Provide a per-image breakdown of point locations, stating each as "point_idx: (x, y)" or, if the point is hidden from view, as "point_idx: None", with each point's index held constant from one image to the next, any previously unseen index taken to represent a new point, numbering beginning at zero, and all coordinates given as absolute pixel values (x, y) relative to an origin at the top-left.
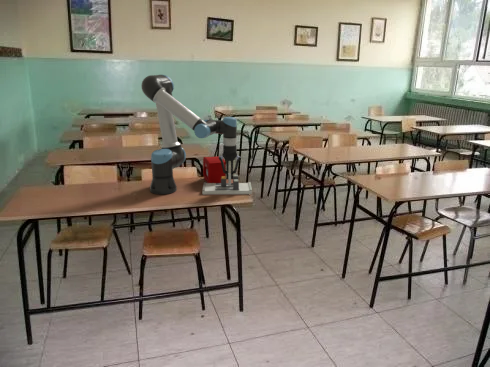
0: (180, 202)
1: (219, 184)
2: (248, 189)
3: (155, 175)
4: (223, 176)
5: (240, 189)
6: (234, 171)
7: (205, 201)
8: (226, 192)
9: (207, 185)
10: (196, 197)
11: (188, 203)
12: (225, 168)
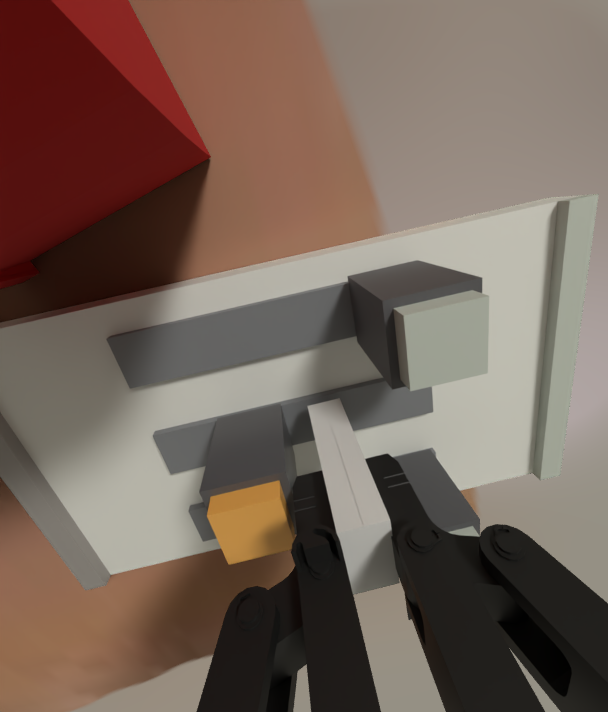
0: (41, 690)
1: (179, 375)
2: (524, 441)
3: None
4: (239, 508)
5: (446, 460)
6: (503, 630)
7: (199, 640)
8: None
9: (38, 424)
10: (95, 606)
11: (104, 687)
12: (106, 80)
